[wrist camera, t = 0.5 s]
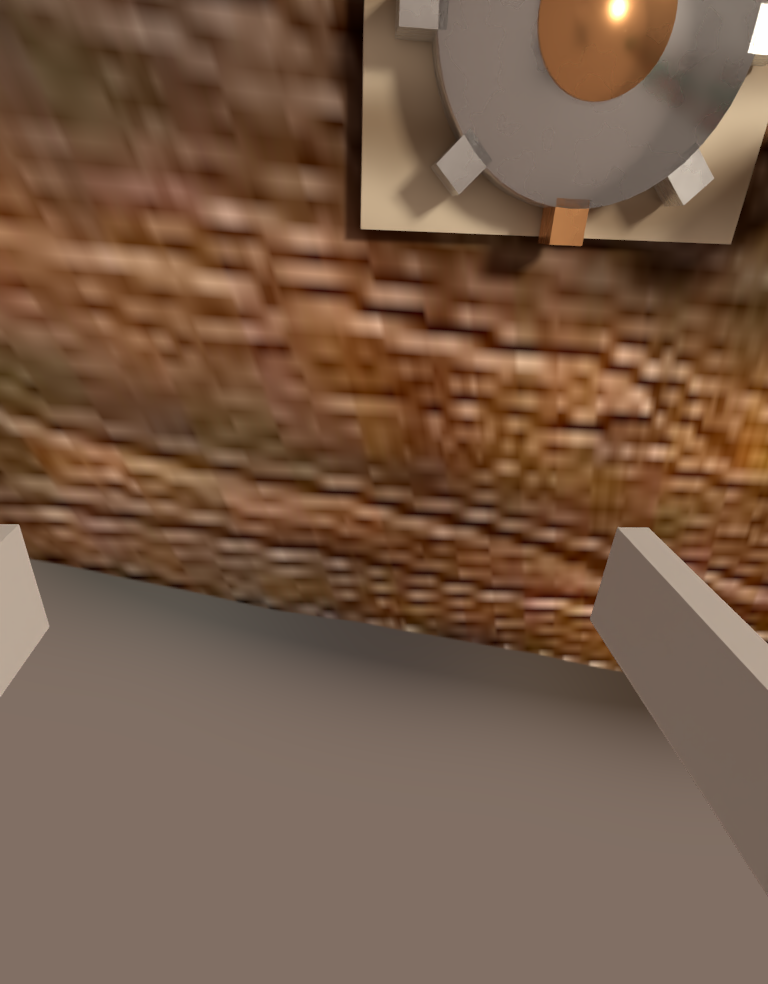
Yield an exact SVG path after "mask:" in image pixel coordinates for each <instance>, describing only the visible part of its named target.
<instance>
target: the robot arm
mask: <svg viewBox="0 0 768 984" xmlns="http://www.w3.org/2000/svg"><path fill="white" fill-rule="evenodd" d="M590 621H591V622H592V624H593V625H594V627H595V628H596V630H597V631H598V633H599V635H600V636H601V638H602V639H603V641H604V642H605V644H606V645H607V647H608V649H609V650H610V652H611V653H612V655H613V656H614V658H615V659H616V661H617V663H618V664H619V666H620V667H621V669H622V670H623V672H624V673H625V675H626V676H627V678H628V680H629V681H630V683H631V684H632V686H633V688H634V689H635V691H636V692H637V694H638V695H639V697H640V698H641V700H642V701H643V703H644V705H645V706H646V708H647V709H648V711H649V712H650V714H651V716H652V717H653V719H654V720H655V722H656V723H657V725H658V726H659V728H660V729H661V731H662V732H663V734H664V736H665V737H666V739H667V740H668V742H669V744H670V745H671V747H672V748H673V750H674V751H675V753H676V754H677V756H678V758H679V759H680V761H681V762H682V764H683V765H684V767H685V768H686V770H687V772H688V773H689V775H690V776H691V778H692V779H693V781H694V782H695V784H696V786H697V787H698V789H699V790H700V792H701V793H702V795H703V796H704V798H705V800H706V801H707V802H708V804H709V806H710V807H711V809H712V810H713V812H714V814H715V815H716V817H717V818H718V820H719V821H720V823H721V824H722V826H723V828H724V829H725V830H726V832H727V834H728V835H729V837H730V838H731V840H732V842H733V843H734V845H735V846H736V848H737V849H738V851H739V853H740V854H741V856H742V857H743V859H744V860H745V862H746V863H747V865H748V867H749V868H750V870H751V871H752V873H753V874H754V876H755V877H756V879H757V881H758V882H759V884H760V885H761V887H762V888H763V890H764V891H765V893H766V895H767V896H768V644H767V643H766V642H765V641H764V640H763V639H762V638H761V637H760V636H759V635H758V634H757V633H756V632H755V631H754V630H753V629H752V628H751V627H750V626H749V625H748V624H747V623H746V622H745V621H744V620H743V619H742V618H741V617H740V616H739V615H738V614H736V613H735V612H734V611H733V610H732V609H731V608H730V607H729V606H728V605H727V604H726V603H725V602H724V601H723V600H722V599H721V598H720V597H719V596H718V595H717V594H716V593H715V592H714V591H713V590H712V589H711V588H710V587H709V586H708V585H707V584H706V583H705V582H704V581H703V580H702V579H701V578H700V577H699V576H698V575H696V574H695V573H694V572H693V571H692V570H691V569H690V568H689V567H688V566H687V565H686V564H685V563H684V562H683V561H682V560H681V559H680V558H679V557H678V556H677V555H676V554H675V553H674V552H673V551H672V550H671V549H670V548H669V547H668V546H667V545H666V544H665V543H664V542H663V541H662V540H661V539H660V538H659V537H657V536H656V535H655V534H654V533H653V532H652V531H651V530H650V529H649V528H617V531H616V534H615V538H614V541H613V544H612V548H611V551H610V554H609V558H608V561H607V564H606V568H605V571H604V574H603V578H602V581H601V584H600V588H599V591H598V594H597V598H596V601H595V604H594V608H593V611H592V614H591V618H590ZM48 628H49V623H48V620H47V617H46V613H45V610H44V607H43V603H42V600H41V597H40V594H39V590H38V587H37V583H36V580H35V577H34V573H33V570H32V567H31V563H30V560H29V557H28V553H27V550H26V547H25V543H24V540H23V537H22V533H21V530H20V526H19V524H0V697H1V695H2V694H3V692H4V691H5V690H6V688H7V687H8V685H9V684H10V683H11V681H12V680H13V678H14V677H15V675H16V674H17V673H18V671H19V670H20V668H21V667H22V665H23V664H24V663H25V661H26V660H27V658H28V657H29V655H30V654H31V653H32V651H33V650H34V648H35V647H36V645H37V644H38V643H39V641H40V640H41V638H42V637H43V635H44V634H45V633H46V631H47V630H48Z"/></svg>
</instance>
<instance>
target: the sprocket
mask: <svg viewBox="0 0 768 984" xmlns="http://www.w3.org/2000/svg"><path fill="white" fill-rule="evenodd" d="M395 39H400V40H413V41H427V42H432V54H433V65H434V73H435V78H436V83H437V88H438V93H439V97H440V100H441V103H442V106H443V110H444V113H445V116H446V119H447V121H448V123H449V125H450V127H451V130H452V132H453V134H454V136H455V138H456V141H455V142H454V143H453V144H452V145H451V146H450V147H449V148H448V149H447V150H446V151H445V152H444V153H443V154H442V155H441V157H440V158H439V159H438V160H437V161H436V162H435V163H434V164H433V165H432V166H431V167H430V168H431V169H432V170H433V172H434V173H435V174H436V176H437V177H438V178H439V180H440V181H441V182H442V184H443V185H444V186H445V188H446V189H447V190H448V192H449V193H450V194H451V196H456V195H459V194H460V193H461V192H462V191H463V190H464V189H465V188H466V187H467V186H468V185H469V184H470V183H471V182H472V181H473V180H474V179H475V178H476V177H477V176H478V175H479V174H480V173H481V174H482V175H483V176H484V177H485V178H486V179H488V180H489V181H490V182H491V183H492V184H493V185H494V186H496V187H497V188H499V189H500V190H502V191H503V192H505V193H506V194H508V195H509V196H512V197H514V198H516V199H518V200H520V201H522V202H524V203H527V204H531V205H534V206H538V207H541V208H543V212H542V219H541V225H540V232H539V239H538V244H547V245H569V246H582V244H583V238H584V233H585V228H586V222H587V217H588V212H589V208H595V207H601V206H607V205H611V204H614V203H617V202H620V201H623V200H626V199H629V198H631V197H633V196H635V195H638V194H640V193H642V192H644V191H646V190H648V189H649V188H651V187H654V189H655V191H656V192H657V194H658V196H659V198H660V200H661V201H662V203H663V205H664V207H666V206H684V205H685V204H686V203H687V202H688V201H689V200H690V199H692V198H693V197H694V196H695V195H696V194H697V193H698V192H700V191H701V190H702V189H703V188H704V187H705V186H706V185H707V184H709V183H710V182H711V181H712V180H713V179H714V177H713V175H712V173H711V171H710V169H709V167H708V165H707V163H706V162H705V160H704V158H703V156H702V154H701V152H700V150H699V148H700V147H701V145H702V144H703V143H704V142H705V140H706V139H707V138H708V137H709V136H710V134H711V133H712V132H713V131H714V129H715V128H716V127H717V125H718V124H719V122H720V121H721V119H722V118H723V116H724V115H725V113H726V112H727V110H728V109H729V107H730V106H731V104H732V102H733V100H734V99H735V97H736V95H737V93H738V91H739V89H740V87H741V86H742V84H743V82H744V80H745V77H746V75H747V73H748V70H749V68H750V66H760V67H763V66H766V65H768V0H396V17H395Z"/></svg>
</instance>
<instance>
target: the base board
mask: <svg viewBox="0 0 768 984" xmlns="http://www.w3.org/2000/svg"><path fill="white" fill-rule="evenodd" d="M395 17H396V0H364V10H363V76H362V142H361V207H360V229H370V230H395V231H419V232H443V233H467V234H492V235H516V236H539V232H540V225H541V219H542V212H543V208H541V207H538V206H534V205H531V204H527V203H524V202H522V201H520V200H518V199H516V198H514V197H512V196H509V195H508V194H506V193H505V192H503V191H502V190H500V189H499V188H497V187H496V186H494V185H493V184H492V183H491V182H490V181H489V180H488V179H486V178H485V177H484V176H483V175H482V174H481V173H480V174H479V175H478V176H477V177H476V178H475V179H474V180H473V181H472V182H471V183H470V184H469V185H468V186H467V187H466V188H465V189H464V190H463V191H462V192H461V193H460V194H459V195H456V196H451V194H450V193H449V192H448V190H447V189H446V188H445V186H444V185H443V184H442V182H441V181H440V180H439V178H438V177H437V176H436V174H435V173H434V172H433V170H432V169H431V168H430V167H431V166H432V165H433V164H434V163H435V162H436V161H437V160H438V159H439V158H440V157H441V155H442V154H443V153H444V152H445V151H446V150H447V149H448V148H449V147H450V146H451V145H452V144H453V143H454V142H455V141H456V138H455V136H454V134H453V132H452V130H451V127H450V125H449V123H448V121H447V119H446V116H445V113H444V110H443V106H442V103H441V100H440V97H439V93H438V88H437V83H436V78H435V73H434V65H433V54H432V42H427V41H413V40H400V39H395ZM767 123H768V65H766V66H763V67H760V66H750V68H749V70H748V73H747V75H746V77H745V80H744V82H743V84H742V86H741V87H740V89H739V91H738V93H737V95H736V97H735V99H734V100H733V102H732V104H731V106H730V107H729V109H728V110H727V112H726V113H725V115H724V116H723V118H722V119H721V121H720V122H719V124H718V125H717V127H716V128H715V129H714V131H713V132H712V133H711V134H710V136H709V137H708V138H707V139H706V140H705V142H704V143H703V144H702V145H701V147H700V148H699V150H700V152H701V154H702V156H703V158H704V160H705V162H706V163H707V165H708V167H709V169H710V171H711V173H712V175H713V177H714V179H713V180H712V181H711V182H710V183H709V184H707V185H706V186H705V187H704V188H703V189H702V190H701V191H700V192H698V193H697V194H696V195H695V196H694V197H693V198H692V199H690V200H689V201H688V202H687V203H686V204H685V205H684V206H666V207H664V205H663V203H662V201H661V200H660V198H659V196H658V194H657V192H656V191H655V189H654V187H651V188H649V189H648V190H646V191H644V192H642V193H640V194H638V195H635V196H633V197H631V198H629V199H626V200H623V201H620V202H617V203H614V204H611V205H607V206H601V207H595V208H589V212H588V217H587V222H586V228H585V233H584V238H589V239H613V240H637V241H661V242H686V243H710V244H731V242H732V239H733V235H734V232H735V229H736V226H737V222H738V219H739V216H740V212H741V209H742V206H743V202H744V199H745V196H746V193H747V189H748V186H749V183H750V179H751V176H752V173H753V169H754V166H755V163H756V160H757V156H758V153H759V150H760V146H761V143H762V140H763V136H764V133H765V130H766V127H767Z"/></svg>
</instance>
